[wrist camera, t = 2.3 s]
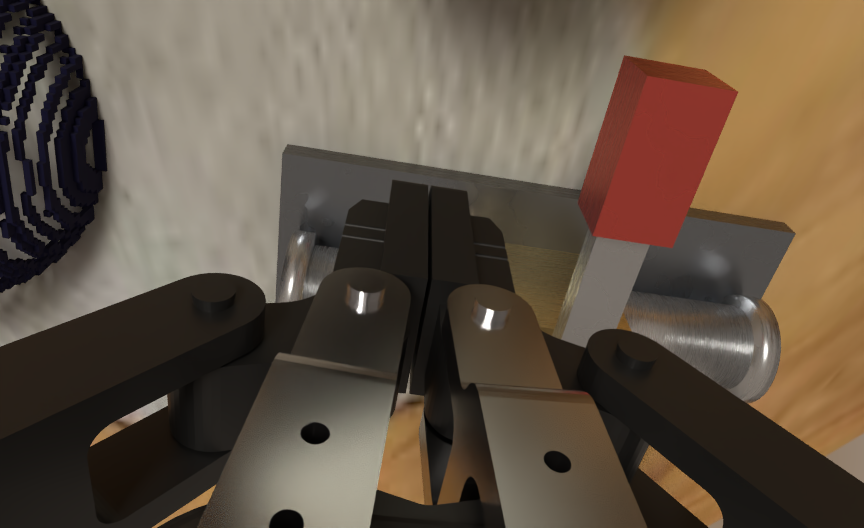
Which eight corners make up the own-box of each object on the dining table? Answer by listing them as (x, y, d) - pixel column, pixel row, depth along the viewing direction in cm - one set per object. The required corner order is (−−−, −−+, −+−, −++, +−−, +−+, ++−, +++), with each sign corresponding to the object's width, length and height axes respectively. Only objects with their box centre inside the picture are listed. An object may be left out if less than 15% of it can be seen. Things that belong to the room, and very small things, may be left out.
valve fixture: (287, 144, 31) (233, 239, 22) (784, 222, 33) (903, 336, 25) (277, 336, 37) (232, 467, 29) (697, 391, 39) (768, 528, 31)
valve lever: (614, 53, 19) (637, 74, 17) (714, 71, 19) (748, 93, 17) (498, 430, 27) (503, 475, 25) (569, 439, 27) (580, 483, 25)
